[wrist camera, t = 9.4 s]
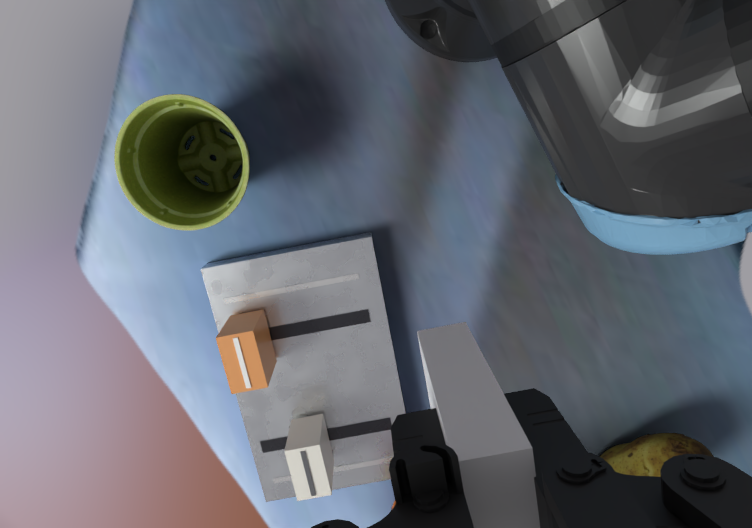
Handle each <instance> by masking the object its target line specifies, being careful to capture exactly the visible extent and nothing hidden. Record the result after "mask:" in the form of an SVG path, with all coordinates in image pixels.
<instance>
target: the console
mask: <svg viewBox="0 0 752 528" xmlns="http://www.w3.org/2000/svg"><path fill="white" fill-rule="evenodd" d="M201 272H202V276H203V279H204V283H205V286H206V290H207V293H208V297H209V300H210V304H211V308H212V311H213V315H214V318H215V322H216V325H217V329H218V332H220V331H221V329H222V327H223V326H224V324H225V323H226V321H227V320H228V318H229V317H230V316H231V315H237V314H242V313H247V312H253V311H258V310H263V309H264V313H265V317H266V320H267V324H268V328H269V332H270V336H271V340H272V344H273V348H274V352H275V356H276V360H277V362H276V365H275V368H274V371H273V374H272V377H271V380H270V383H269V386H268V388H262V389H257V390H251V391H246V392H241V393H236V396H237V400H238V404H239V407H240V411H241V414H242V418H243V421H244V425H245V428H246V432H247V436H248V439H249V443H250V446H251V450H252V453H253V457H254V460H255V464H256V468H257V471H258V475H259V478H260V482H261V485H262V489H263V492H264V496H265V500H266V502H268V501H274V500H279V499H285V498H290V497H296V493H295V490H294V486H293V482H292V478H291V474H290V471H289V467H288V463H287V459H286V455H285V452H284V451H285V446H286V442H287V437H288V433H289V428H290V424H291V419H297V418H302V417H308V416H313V415H318V414H323V415H324V419H325V424H326V428H327V432H328V436H329V440H330V445H331V449H332V453H333V457H334V469H333V483H332V490H334V489H339V488H345V487H350V486H356V485H361V484H367V483H372V482H378V481H383V480H389V479H391V477H390V472H389V466H390V461H391V459H392V458H393V457H394V453H393V445H392V436H391V426H392V424H393V422H394V421H395V419H396V417H397V415H401V414H406V411H405V406H404V401H403V396H402V390H401V385H400V380H399V375H398V370H397V364H396V359H395V354H394V349H393V344H392V339H391V333H390V328H389V323H388V318H387V313H386V307H385V302H384V297H383V292H382V287H381V281H380V276H379V271H378V266H377V261H376V255H375V250H374V245H373V240H372V235H371V232H369V233H364V234H358V235H353V236H348V237H343V238H337V239H332V240H327V241H321V242H316V243H311V244H306V245H300V246H295V247H290V248H285V249H279V250H274V251H269V252H263V253H258V254H253V255H248V256H242V257H237V258H232V259H227V260H221V261H216V262H211V263H207V264H206V265H205V266H203V267H202V268H201Z"/></svg>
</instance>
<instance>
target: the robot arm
mask: <svg viewBox="0 0 752 528" xmlns="http://www.w3.org/2000/svg"><path fill="white" fill-rule="evenodd" d="M385 2H386V4H387V6H388V9H389V10H390V12H391V14H392V16H393V18H394V19H395V21H396V22H397V24H398V25H399V27H400V28H401V29H402V30H403V31H404V33H405V34H406V35H407V36H408V37H409V38H410V39H411V40H413V41H414V42H415V43H416V44H418V45H419V46H420V47H422V48H423V49H425V50H426V51H428V52H430V53H432V54H434V55H437V56H439V57H442V58H445V59H449V60H453V61H459V62H479V61H486V60H490V59H494V58H498V60H499V61H500V63H501V66H502V69H503V71H504V73H505V75H506V77H507V79H508V81H509V83H510V85H511V87H512V89H513V91H514V93H515V95H516V97H517V99H518V101H519V102H520V104H521V106H522V108H523V110H524V112H525V114H526V116H527V118H528V120H529V122H530V124H531V126H532V128H533V130H534V132H535V134H536V136H537V138H538V140H539V141H540V143H541V145H542V147H543V149H544V151H545V153H546V155H547V157H548V159H549V161H550V163H551V165H552V167H553V169H554V171H555V173H556V175H555V179H556V182H557V185H558V187H559V189H560V191H561V192H562V193H563V194H564V195H565V196H566V197H567V198H568V199H569V200H570V201H571V203H572V204H573V206H574V208H575V210H576V211H577V213H578V215H579V217H580V218H581V220H582V222H583V223H584V225H585V227H586V228H587V229H588V230H589V231H590V232H591V233H592V234H593V235H595V236H596V237H597V238H599V239H600V240H601V241H602V242H604V243H606V244H608V245H609V246H612V247H615V248H618V249H621V250H624V251H628V252H634V253H641V254H654V255H668V254H684V253H693V252H699V251H705V250H711V249H716V248H720V247H724V246H728V245H731V244H734V243H737V242H741V241H744V240H745V238H746V236H747V233H748V232H752V0H385ZM417 334H418V340H419V345H420V351H421V357H422V362H423V368H424V373H425V379H426V384H427V390H428V396H429V401H430V407H431V409H428V410H422V411H417V412H411V413H406V414H401V415H397V417H396V419H395V421H394V422H393V424H392V426H391V436H392V445H393V453H394V457H393V458H392V459H391V461H390V466H389V472H390V477H391V482H392V486H393V491H394V496H395V501H396V504H395V506H394V508H393V509H392V510H391V512H390V513H389V514H388V515H387V516H386V517H385V518H383V519H382V520H381V521H379V522H377V523H376V524H374V525H372V526H370V527H368V528H752V477H751V476H749V475H748V474H746V473H745V472H743V471H741V470H740V469H738V468H737V467H735V466H733V465H732V464H730V463H727V462H725V461H723V460H721V459H719V458H716V457H712V456H707V455H703V454H683V455H678V456H673V457H672V458H670V459H668V460H667V461H665V462H664V463H663V465H662V468H661V470H660V474H661V477H655V476H635V475H626V474H621V473H618V472H615V470H614V469H613V468H612V466H611V465H610V464H609V463H608V462H606V461H605V460H604V459H603V458H601V457H599V456H596V455H594V454H592V453H588V452H587V451H586V449H585V448H584V446H583V445H582V444H581V442H580V441H579V439H578V438H577V436H576V435H575V433H574V432H573V430H572V429H571V428H570V426H569V425H568V423H567V422H566V421H565V420H564V417H563V416H562V415H561V413H560V412H559V411H558V409H557V407H556V406H555V404H554V403H553V402H552V400H551V399H550V397H548V396H547V395H545V394H543V393H541V392H540V391H538V390H536V389H534V388H533V389H528V390H523V391H517V392H512V393H506V394H503V392H502V390H501V388H500V386H499V384H498V382H497V380H496V379H495V377H494V375H493V373H492V371H491V369H490V367H489V365H488V364H487V362H486V360H485V358H484V356H483V354H482V352H481V350H480V349H479V347H478V345H477V343H476V341H475V339H474V337H473V335H472V334H471V332H470V330H469V328H468V326H467V324H466V322H463V323H458V324H452V325H447V326H442V327H436V328H431V329H426V330H420V331H417ZM311 528H359V527H358V526H356V525H355V524H353V523H352V522H350V521H345V520H338V519H337V520H330V521H324V522H322V523H320V524H317V525H315V526H313V527H311Z"/></svg>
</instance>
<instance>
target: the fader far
mask: <svg viewBox="0 0 752 528" xmlns="http://www.w3.org/2000/svg"><path fill="white" fill-rule="evenodd" d="M284 452H285V455H286V459H287V463H288V467H289V471H290V474H291V478H292V482H293V486H294V490H295V493H296V497H297V501H301V500H306V499H312V498H317V497H323V496H328V495H332V483H333V469H334V457H333V453H332V449H331V445H330V440H329V436H328V432H327V428H326V424H325V419H324V415H323V414H318V415H313V416H308V417H302V418H297V419H291V424H290V428H289V433H288V437H287V442H286V446H285V451H284Z"/></svg>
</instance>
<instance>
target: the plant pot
mask: <svg viewBox="0 0 752 528" xmlns="http://www.w3.org/2000/svg"><path fill="white" fill-rule="evenodd" d="M220 129H224V130H225V131H226V132H230V133H231V134H232V135H233V136H234V139H231V138H230V137H228V136H227V135H225V134H224V133H221V132H220ZM193 135H194V136H195V138H194V140H193V141H192V143H191V144H190V146H189V149H188V150H186V148H185V144H186V142H187V141H188V139H189V138H190V137H191V136H193ZM211 155H214V156H216V160H215V161H212V160H211V159H210V156H211ZM249 163H250V157H249V151H248V147H247V144H246V142H245V140H244V139H243V137H242V135H241V133H240V131H239V130H238V128H237V127H236V125H235V124H234V123H233V121H232V120H231V119H230V118H229V117H228V116H227V115H226V114H225V113H224V112H222V111H221V110H220V109H219V108H217V107H216V106H214V105H212V104H211V103H209V102H207V101H205V100H202V99H200V98H197V97H193V96H189V95H183V94H171V95H163V96H159V97H156V98H153V99H150V100H148V101H146V102H144V103H143V104H141V105H140V106H138V107H137V108H136V109H135V110H134V111H133V112H132V113H131V114H130V115H129V116H128V117H127V119H126V120H125V122H124V124H123V125H122V127H121V129H120V132H119V134H118V137H117V141H116V145H115V169H116V173H117V177H118V181H119V184H120V186H121V188H122V190H123V192H124V194H125V195H126V197H127V199H128V200H129V201H130V202H131V204H132V205H133V206H134V207H135V208H136V209H137V210H138V211H139V212H140V213H141V214H142V215H144V216H145V217H147V218H148V219H150V220H151V221H153V222H155V223H157V224H159V225H161V226H164V227H167V228H171V229H176V230H198V229H203V228H207V227H210V226H213V225H215V224H217V223H219V222H220V221H222V220H223V219H225V218H226V217H227V216H228V215H230V214H231V213H232V212H233V211H234V209H235V208H236V207H237V206H238V204H239V203H240V201H241V200H242V198H243V196H244V194H245V191H246V188H247V185H248V180H249V171H250V164H249ZM240 165H242V170H241V173H240V175H239V176H238V178H236V179H234V178H233V176H234V175H235V173H236V172H237V170H238V168H239V167H240ZM195 176H197V177H199V178H200V179H201V180H203V181H204V182H207V183H209V185H207V186H205V185H203V184H201V183H199V182H197V181H196V180H195V178H194V177H195Z"/></svg>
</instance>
